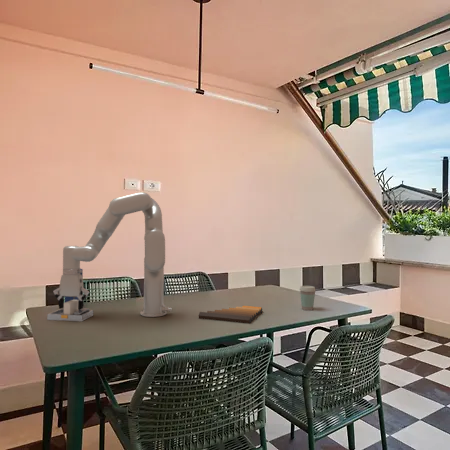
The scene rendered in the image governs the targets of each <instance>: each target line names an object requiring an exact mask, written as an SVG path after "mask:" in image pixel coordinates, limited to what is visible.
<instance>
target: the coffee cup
mask: <svg viewBox="0 0 450 450" xmlns="http://www.w3.org/2000/svg"><path fill="white" fill-rule="evenodd" d="M299 291H300V292H299V294H300V303H301V304H300V305H301V310H303V311H313V310H314V304H315V297H316V291H317V290H316V288H315V286H312V285H301V286H300V287H299Z"/></svg>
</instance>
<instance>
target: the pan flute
mask: <svg viewBox="0 0 450 450" xmlns="http://www.w3.org/2000/svg"><path fill="white" fill-rule="evenodd" d="M262 313H263V307H261V306H250V305H242V306H235V307H229V308H221V309H214V310H207V311H206V312H204V311H199V313H198V319H201V320H212V321H222V322H230V323H242V324H251V323H252V322H253V321H255V319H257V317H258V316H259V315H261V314H262Z"/></svg>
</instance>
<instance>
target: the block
mask: <svg viewBox="0 0 450 450" xmlns="http://www.w3.org/2000/svg"><path fill="white" fill-rule="evenodd" d="M78 301H79V300H71V301H68V302H65V301H64V307H63V309H64V314H66V315H71V314H73V313H74V312H76V311H78V310H79V309H78Z"/></svg>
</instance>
